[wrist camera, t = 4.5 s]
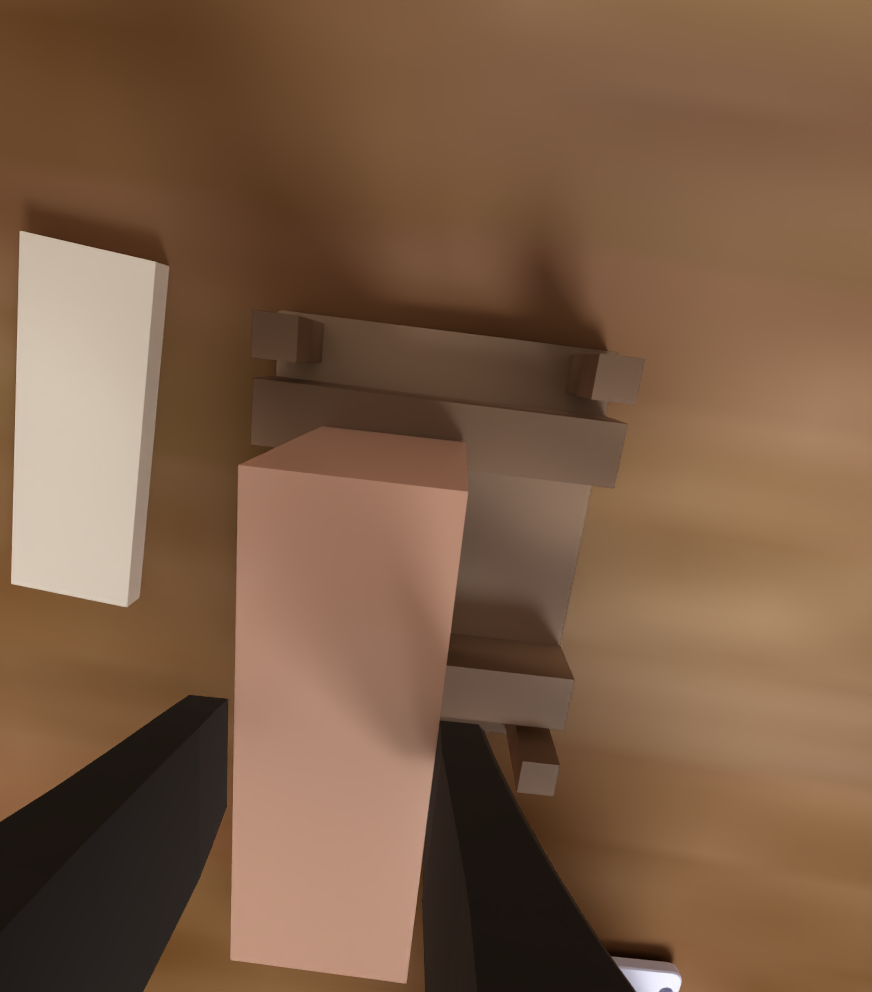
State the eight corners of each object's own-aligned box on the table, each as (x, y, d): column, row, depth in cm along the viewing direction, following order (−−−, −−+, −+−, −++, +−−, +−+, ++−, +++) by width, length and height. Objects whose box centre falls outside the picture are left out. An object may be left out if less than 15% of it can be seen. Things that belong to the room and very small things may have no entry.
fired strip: (148, 591, 18) (127, 607, 16) (40, 568, 17) (11, 583, 16) (177, 269, 15) (155, 261, 14) (52, 240, 15) (19, 230, 14)
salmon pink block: (424, 787, 15) (406, 983, 11) (303, 771, 15) (230, 959, 11) (465, 442, 13) (468, 491, 8) (322, 425, 13) (238, 464, 8)
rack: (537, 721, 18) (559, 803, 15) (268, 691, 18) (229, 767, 14) (608, 352, 15) (656, 350, 12) (287, 312, 15) (243, 298, 12)
